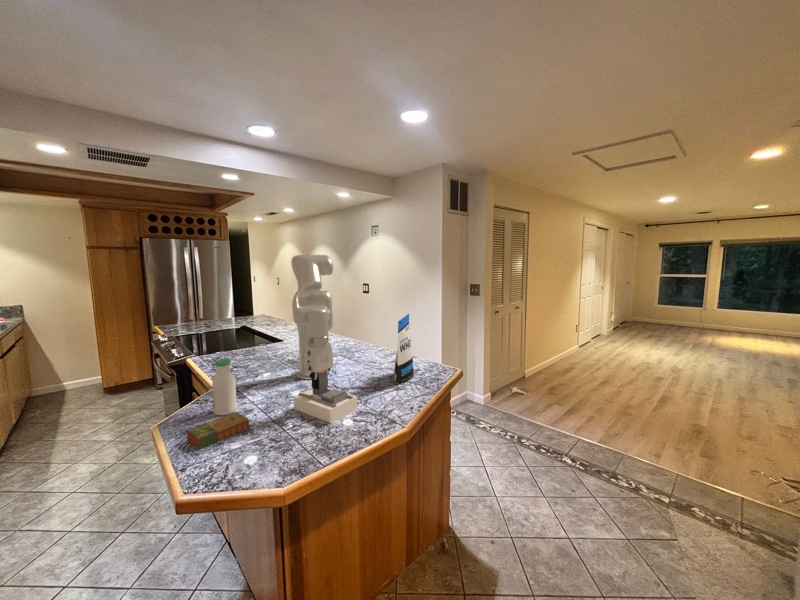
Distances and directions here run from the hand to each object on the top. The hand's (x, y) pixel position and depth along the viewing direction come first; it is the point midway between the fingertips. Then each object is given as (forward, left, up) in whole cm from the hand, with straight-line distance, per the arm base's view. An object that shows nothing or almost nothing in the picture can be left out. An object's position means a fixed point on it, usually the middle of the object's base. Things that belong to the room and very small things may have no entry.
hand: (319, 386), depth 127 cm
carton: (-12, -33, -9) cm, 36 cm away
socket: (+3, 0, -8) cm, 9 cm away
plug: (0, 0, -3) cm, 3 cm away
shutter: (+8, 0, -3) cm, 8 cm away
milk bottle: (-27, -23, -9) cm, 37 cm away
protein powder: (+8, +47, -9) cm, 49 cm away
